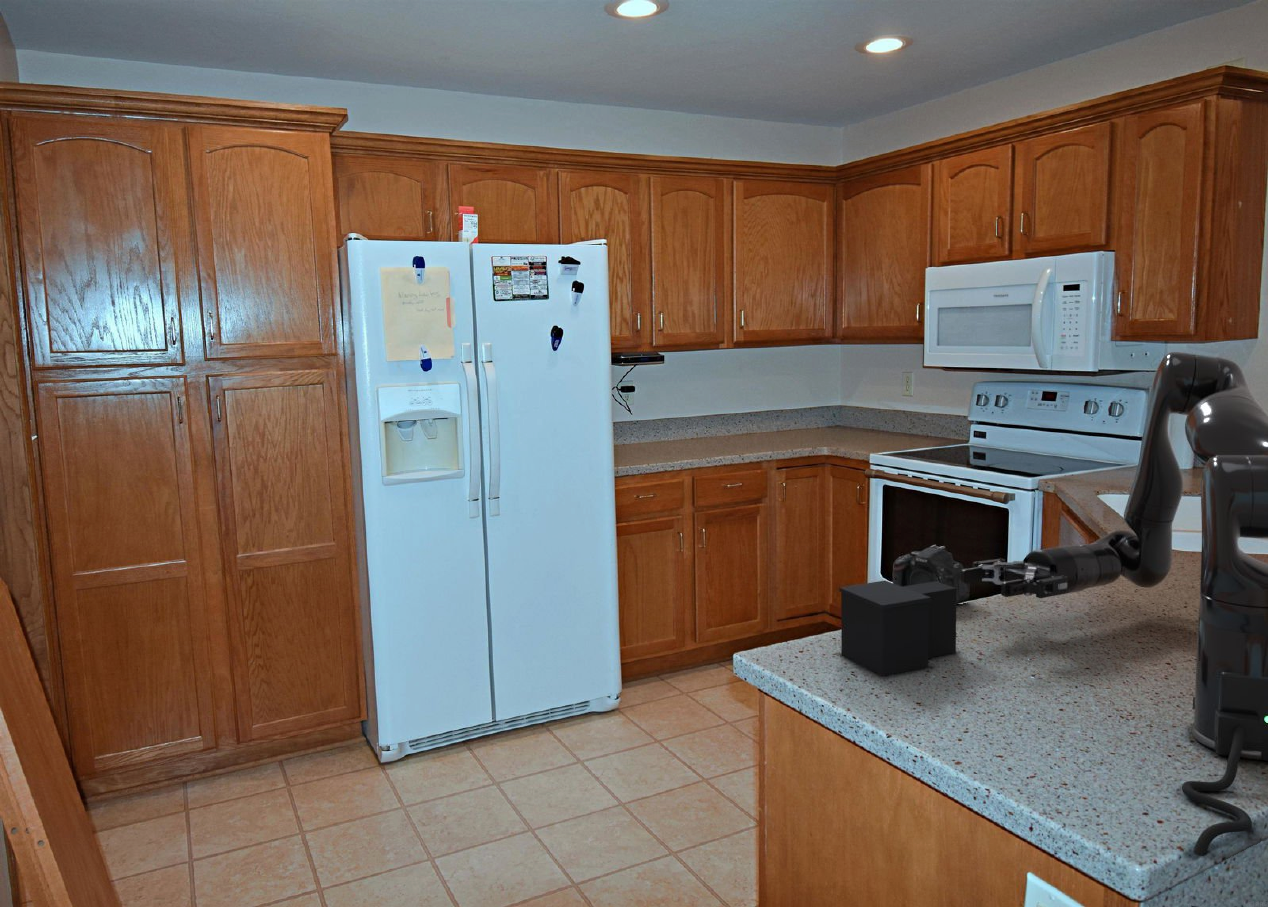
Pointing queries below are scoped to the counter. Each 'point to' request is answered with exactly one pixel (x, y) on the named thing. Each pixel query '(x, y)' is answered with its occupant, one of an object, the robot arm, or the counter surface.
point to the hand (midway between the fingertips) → (982, 583)
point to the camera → (930, 570)
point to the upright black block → (940, 617)
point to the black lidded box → (885, 627)
